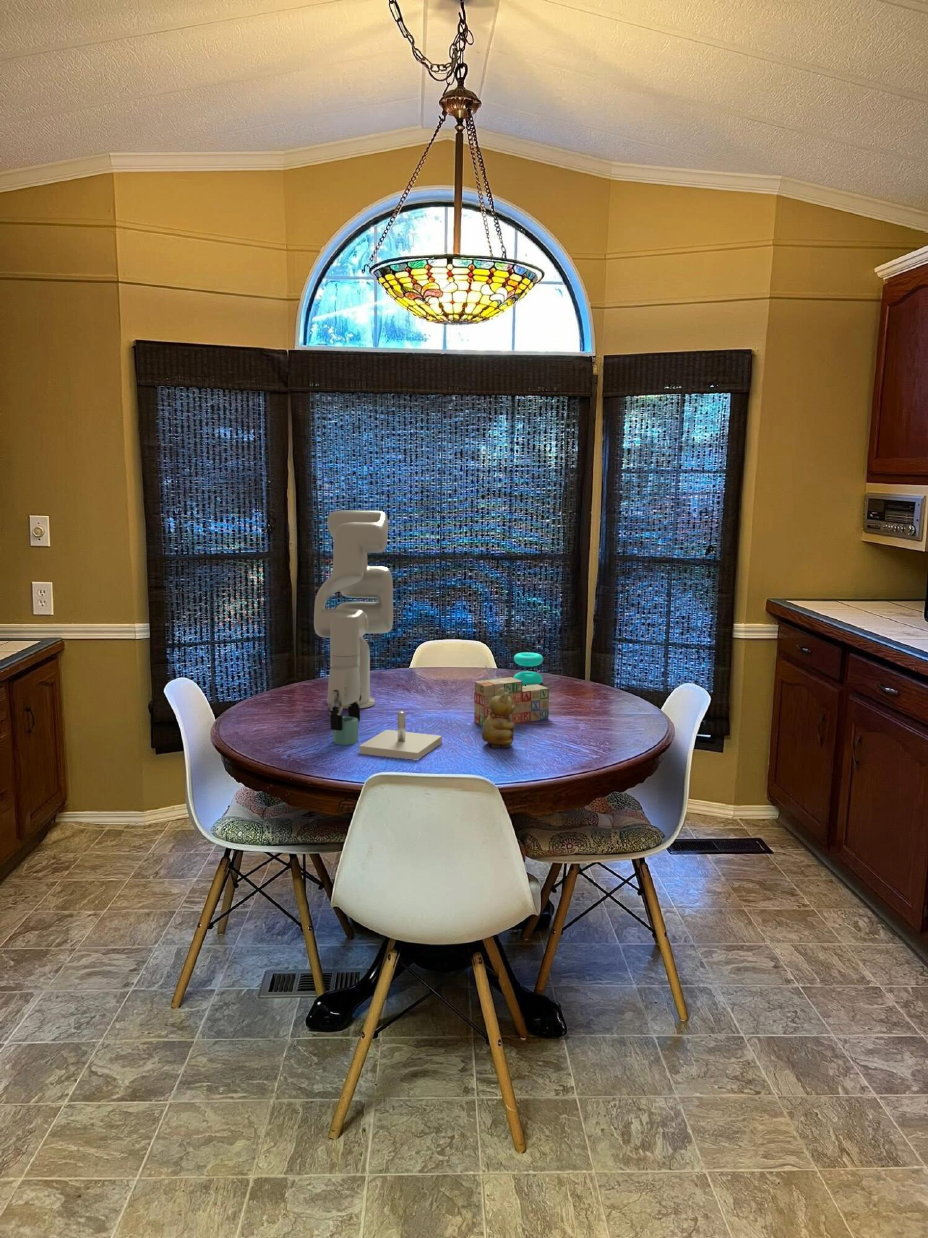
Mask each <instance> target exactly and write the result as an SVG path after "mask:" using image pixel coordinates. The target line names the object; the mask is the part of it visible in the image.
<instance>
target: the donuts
mask: <svg viewBox="0 0 928 1238" xmlns="http://www.w3.org/2000/svg"><path fill="white" fill-rule="evenodd" d="M513 661H514V662H515V663H516V664H517V665H519V666H522V667H536V666H539V665H541V664H542V663H543V662H544V657H543V656H542V654H540V653H537V652H527V651H526V652H519V653H516V654H515V655H514V656H513ZM513 678H515V679H518V680H520V681H523V682H522V686H525V685H536V684H538V685H541V684H542V682H543V680H544V679H543V676H542V675H541V674H540V673H538V672H537V671H536V672H535V671H531V670H530V671H525V670H524V671H519V672H517V673H515V674H514V675H513Z"/></svg>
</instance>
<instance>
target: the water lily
mask: <svg viewBox="0 0 928 1238" xmlns="http://www.w3.org/2000/svg"><path fill="white" fill-rule="evenodd" d="M484 666H485V673H486V675H487V678H488V680H492V679H499V678H504V677H503V676H502V675H499V676H497V669H495V670H494V669H493V667H492V666H491V667H490V668H488V666H487V665H486V664H485V665H484Z"/></svg>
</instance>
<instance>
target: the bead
mask: <svg viewBox="0 0 928 1238" xmlns="http://www.w3.org/2000/svg"><path fill="white" fill-rule="evenodd" d="M342 716H343V715H342ZM332 731H333V732H332V733H333V734H332V735H333V737H332V738H333V740H332V741H333V743H335V745H339V746H340V745H342V746H347V745H355V744H356V743H358V742H359V722H358V719H357V718H356V717H350V716H348V715H344V716H343V729H342V730H341V731H338V730H332Z"/></svg>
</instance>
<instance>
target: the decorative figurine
mask: <svg viewBox="0 0 928 1238" xmlns="http://www.w3.org/2000/svg"><path fill="white" fill-rule="evenodd" d="M504 690H505V689H504V688H500V689H499V690H498V691H497V692H496V695H495V697H493V698H492V699H491V701H490V710H491V711H490V713H489V715H488V717H487V720H486V721H485V723H484V725H483V727H482V733H481V738H482V741H483V742H487V743H488V744H490V746H491V748H510V747H511V745H512V744H513V741H514V731H515V730H516V729H515V728H516V723H515V724H514V723H512V722H511V720H510V718H509V715H510V714H512V713H513V711H514V710H515V705H514V702H513V701H512V699H511V698H510V697H509V692H504Z"/></svg>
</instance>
